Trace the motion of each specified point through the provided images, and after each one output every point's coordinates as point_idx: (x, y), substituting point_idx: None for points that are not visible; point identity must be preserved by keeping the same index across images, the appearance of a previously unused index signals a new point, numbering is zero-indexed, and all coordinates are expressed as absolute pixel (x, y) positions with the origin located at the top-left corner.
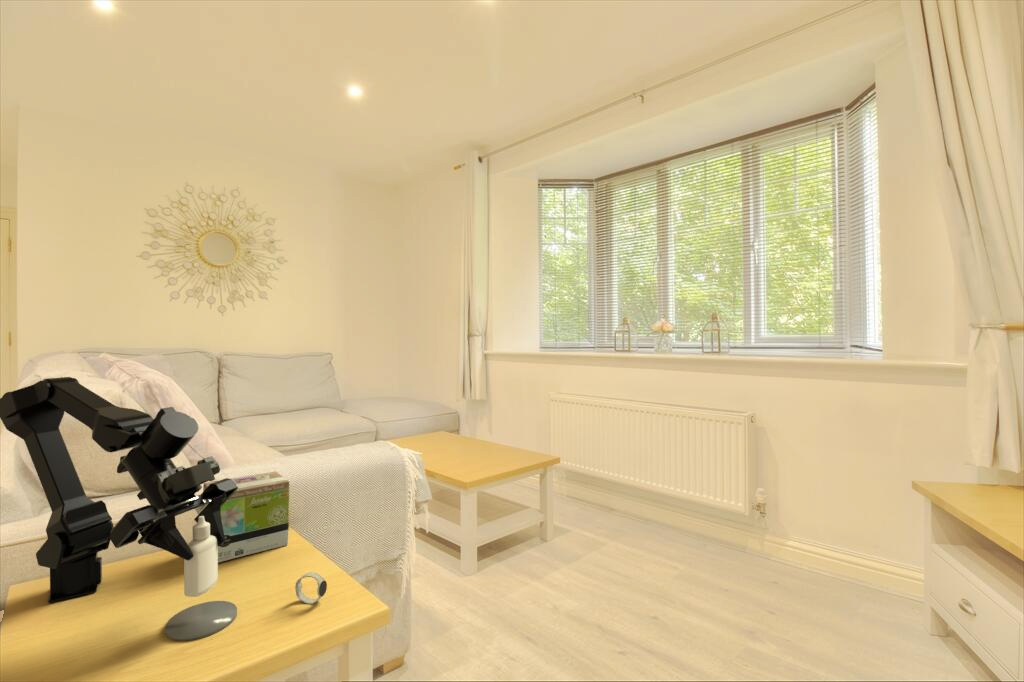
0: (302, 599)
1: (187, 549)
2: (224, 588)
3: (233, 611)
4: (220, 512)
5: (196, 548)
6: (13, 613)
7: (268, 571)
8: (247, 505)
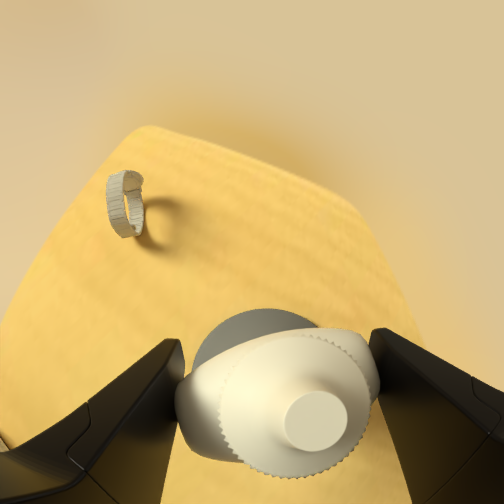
0: (139, 228)
1: (405, 345)
2: None
3: (220, 333)
4: (34, 438)
5: (356, 340)
6: None
7: (56, 393)
8: None
